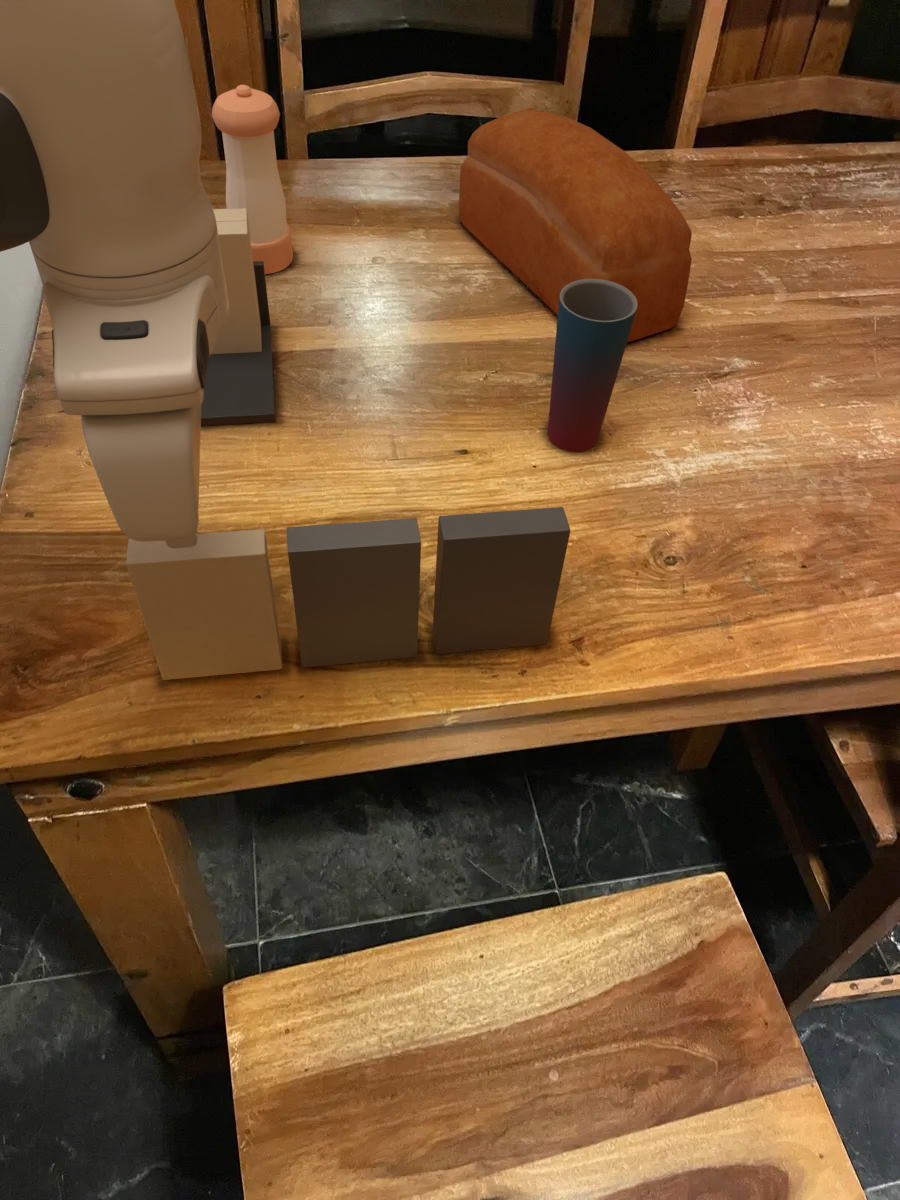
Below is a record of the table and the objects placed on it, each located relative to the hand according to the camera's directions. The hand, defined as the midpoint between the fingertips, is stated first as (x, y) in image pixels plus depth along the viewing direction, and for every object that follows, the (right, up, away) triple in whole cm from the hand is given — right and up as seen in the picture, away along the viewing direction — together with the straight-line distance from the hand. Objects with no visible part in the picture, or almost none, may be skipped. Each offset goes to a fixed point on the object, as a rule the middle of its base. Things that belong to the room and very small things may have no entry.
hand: (185, 485), depth 58 cm
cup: (+29, +9, +34) cm, 45 cm away
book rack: (-7, +16, +37) cm, 41 cm away
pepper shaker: (-6, +33, +53) cm, 63 cm away
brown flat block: (-1, -12, +14) cm, 19 cm away
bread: (+30, +33, +55) cm, 70 cm away
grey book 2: (+20, -10, +17) cm, 28 cm away
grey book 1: (+9, -11, +15) cm, 21 cm away
